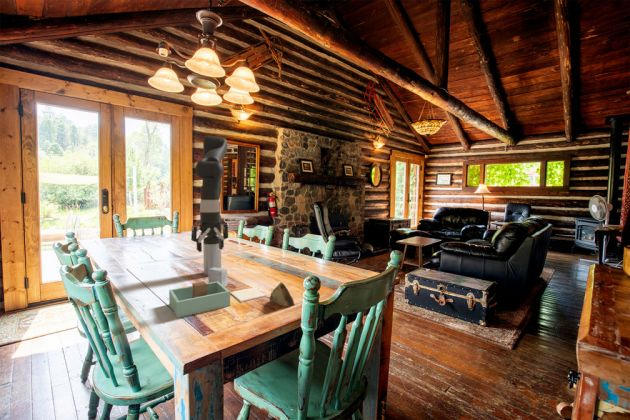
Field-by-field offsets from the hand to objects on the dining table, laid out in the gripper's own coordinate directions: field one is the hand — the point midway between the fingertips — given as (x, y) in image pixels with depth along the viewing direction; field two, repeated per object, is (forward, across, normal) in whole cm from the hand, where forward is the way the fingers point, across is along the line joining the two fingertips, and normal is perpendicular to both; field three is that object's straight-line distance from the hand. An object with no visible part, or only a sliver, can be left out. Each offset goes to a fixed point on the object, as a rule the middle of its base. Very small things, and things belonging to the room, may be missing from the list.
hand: (210, 250), depth 117 cm
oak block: (+23, +4, -2) cm, 23 cm away
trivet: (+22, -17, 0) cm, 28 cm away
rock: (+23, -24, +17) cm, 37 cm away
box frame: (+22, +4, -2) cm, 23 cm away
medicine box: (+22, -10, -18) cm, 31 cm away
